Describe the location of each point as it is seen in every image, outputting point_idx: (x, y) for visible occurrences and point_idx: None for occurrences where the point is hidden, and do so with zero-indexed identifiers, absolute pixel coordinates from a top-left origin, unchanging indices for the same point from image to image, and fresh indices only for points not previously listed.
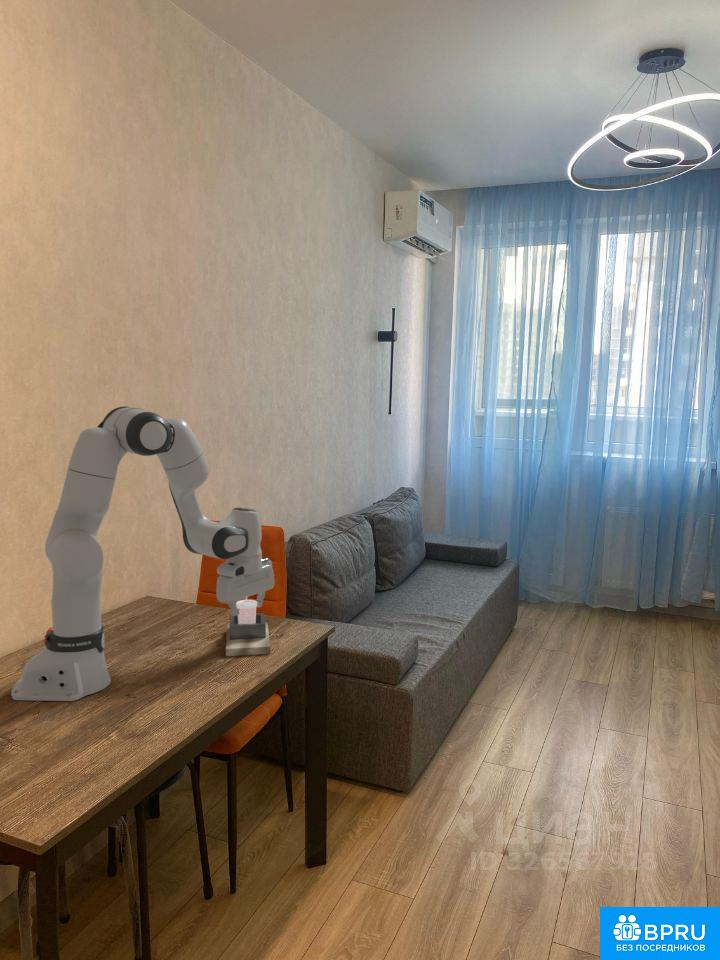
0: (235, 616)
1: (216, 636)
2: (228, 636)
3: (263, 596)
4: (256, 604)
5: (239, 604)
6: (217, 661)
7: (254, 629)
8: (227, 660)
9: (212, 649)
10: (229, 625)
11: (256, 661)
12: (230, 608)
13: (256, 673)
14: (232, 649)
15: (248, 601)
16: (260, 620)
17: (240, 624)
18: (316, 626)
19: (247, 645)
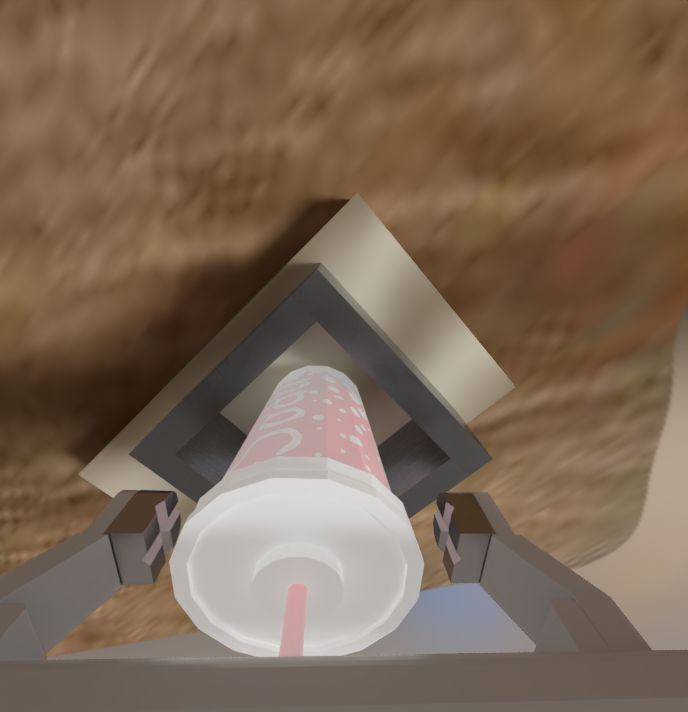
0: (325, 328)
1: (248, 211)
2: (205, 363)
3: (538, 636)
4: (344, 638)
5: (210, 552)
6: (38, 462)
7: None
8: (80, 485)
9: (104, 343)
10: (354, 223)
11: (163, 566)
12: (67, 539)
13: (92, 622)
14: (109, 490)
15: (324, 595)
16: (430, 441)
17: (207, 486)
18: (619, 515)
19: (188, 516)
